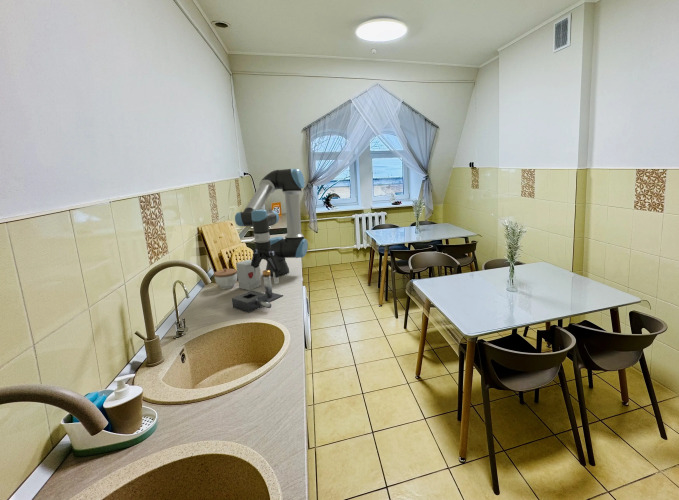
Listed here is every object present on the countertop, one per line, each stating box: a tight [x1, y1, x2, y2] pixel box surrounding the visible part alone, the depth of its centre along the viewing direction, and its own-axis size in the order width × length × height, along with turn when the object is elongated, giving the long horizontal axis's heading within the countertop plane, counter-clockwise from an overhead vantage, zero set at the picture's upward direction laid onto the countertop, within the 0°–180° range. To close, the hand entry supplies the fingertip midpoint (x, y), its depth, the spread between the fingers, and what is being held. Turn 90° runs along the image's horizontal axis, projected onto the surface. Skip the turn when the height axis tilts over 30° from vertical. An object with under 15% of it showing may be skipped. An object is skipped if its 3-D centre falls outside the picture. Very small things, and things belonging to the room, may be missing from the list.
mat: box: [268, 292, 284, 303], centre depth 168 cm, size 10×10×1 cm
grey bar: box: [262, 269, 273, 298], centre depth 166 cm, size 4×4×14 cm
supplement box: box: [235, 259, 262, 291], centre depth 184 cm, size 9×9×15 cm
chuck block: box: [231, 289, 272, 313], centre depth 155 cm, size 12×20×5 cm, turn 53°
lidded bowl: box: [213, 267, 238, 290], centre depth 187 cm, size 13×13×11 cm
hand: (267, 281), depth 166 cm, fingers open, 13 cm apart
